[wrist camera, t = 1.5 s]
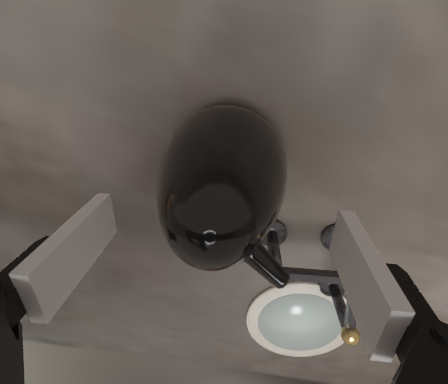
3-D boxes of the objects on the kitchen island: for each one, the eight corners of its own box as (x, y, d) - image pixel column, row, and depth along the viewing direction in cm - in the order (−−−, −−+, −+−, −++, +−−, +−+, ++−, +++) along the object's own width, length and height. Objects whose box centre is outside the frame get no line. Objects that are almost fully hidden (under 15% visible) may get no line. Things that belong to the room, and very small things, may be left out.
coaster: (243, 347, 41) (243, 352, 40) (249, 276, 34) (249, 280, 34) (341, 357, 40) (342, 361, 39) (366, 285, 33) (368, 290, 33)
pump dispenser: (241, 215, 30) (234, 347, 17) (159, 162, 28) (76, 263, 15) (305, 142, 26) (364, 240, 12) (214, 73, 24) (167, 102, 10)
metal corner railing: (252, 286, 35) (252, 344, 28) (258, 218, 30) (260, 268, 23) (342, 293, 34) (366, 355, 27) (363, 225, 29) (398, 278, 22)
